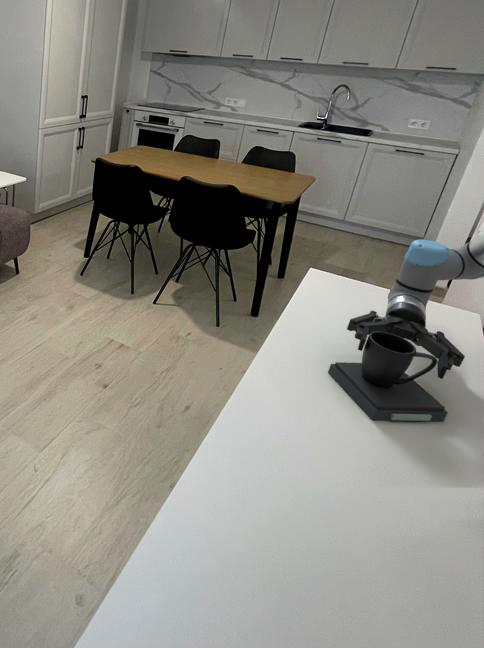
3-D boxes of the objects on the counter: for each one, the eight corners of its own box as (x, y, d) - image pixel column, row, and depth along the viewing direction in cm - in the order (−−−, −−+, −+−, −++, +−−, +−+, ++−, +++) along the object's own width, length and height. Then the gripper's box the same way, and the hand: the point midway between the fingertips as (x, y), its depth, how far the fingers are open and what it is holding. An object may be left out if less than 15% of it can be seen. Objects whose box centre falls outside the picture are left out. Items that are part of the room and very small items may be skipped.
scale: (445, 423, 99) (451, 410, 97) (373, 422, 98) (379, 409, 96) (390, 374, 113) (395, 362, 111) (327, 372, 112) (332, 360, 110)
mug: (423, 406, 98) (442, 366, 94) (353, 382, 104) (369, 344, 100) (419, 384, 105) (437, 346, 101) (354, 362, 110) (369, 326, 106)
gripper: (466, 352, 110) (471, 401, 94) (339, 312, 123) (326, 349, 107) (480, 323, 107) (489, 369, 91) (349, 285, 120) (336, 319, 104)
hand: (400, 358), depth 99 cm, fingers open, 13 cm apart
